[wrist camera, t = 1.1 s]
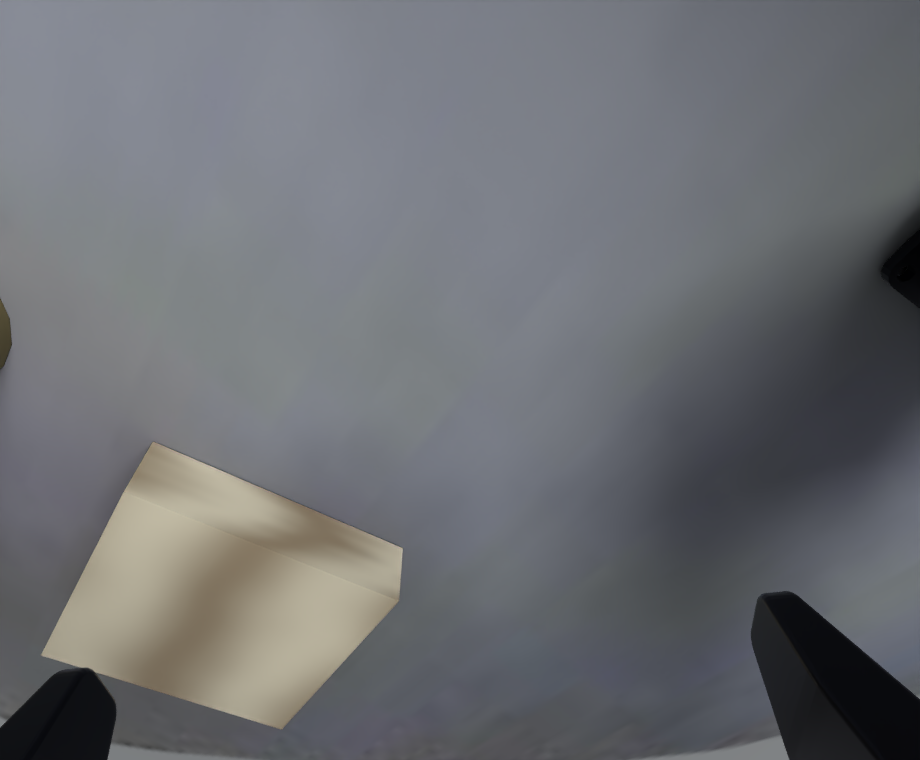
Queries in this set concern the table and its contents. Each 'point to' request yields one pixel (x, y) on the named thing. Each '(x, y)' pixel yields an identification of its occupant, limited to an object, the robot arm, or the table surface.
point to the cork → (4, 335)
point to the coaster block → (224, 592)
